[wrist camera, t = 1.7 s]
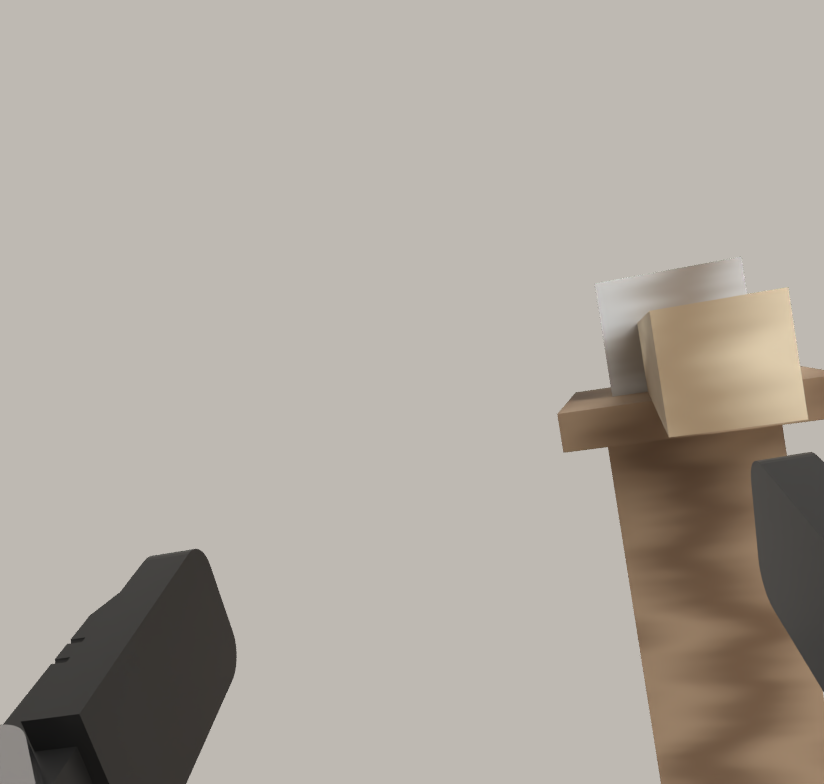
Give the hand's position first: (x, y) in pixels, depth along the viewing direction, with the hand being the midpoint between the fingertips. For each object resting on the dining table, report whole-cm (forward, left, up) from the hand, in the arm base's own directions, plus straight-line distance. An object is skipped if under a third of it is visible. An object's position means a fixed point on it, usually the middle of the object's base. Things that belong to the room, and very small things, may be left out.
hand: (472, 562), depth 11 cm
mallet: (+5, +19, 0) cm, 20 cm away
